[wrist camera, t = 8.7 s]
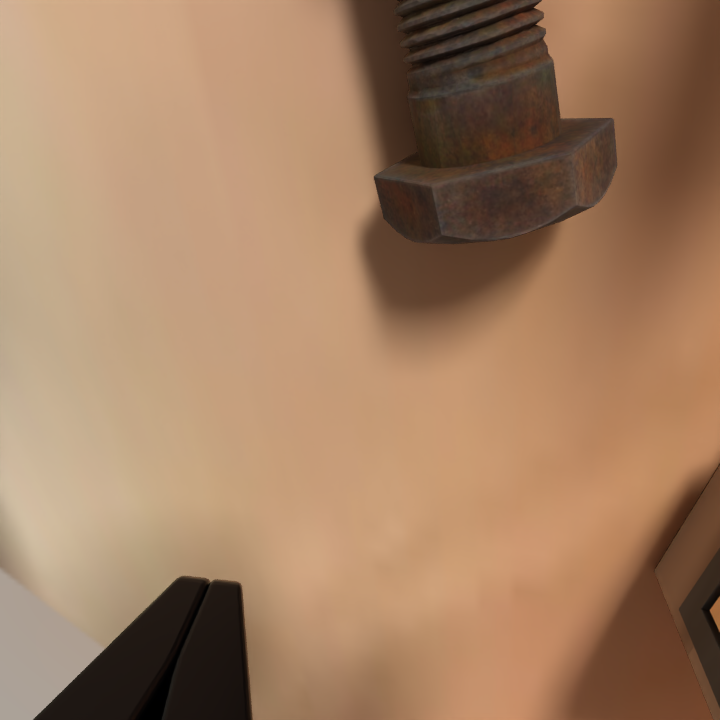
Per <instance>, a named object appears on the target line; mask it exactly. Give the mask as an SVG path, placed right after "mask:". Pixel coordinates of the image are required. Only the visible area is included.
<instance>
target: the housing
mask: <svg viewBox="0 0 720 720" xmlns="http://www.w3.org/2000/svg"><path fill="white" fill-rule="evenodd" d="M654 572H655V575H656V577H657V580H658V582H659V585H660V587H661V590H662V592H663V595H664V597H665V600H666V602H667V605H668V607H669V610H670V612H671V615H672V617H673V620H674V622H675V625H676V627H677V630H678V632H679V635H680V637H681V640H682V642H683V645H684V647H685V650H686V652H687V655H688V657H689V660H690V662H691V665H692V667H693V670H694V672H695V675H696V677H697V680H698V682H699V685H700V687H701V690H702V692H703V695H704V697H705V700H706V702H707V705H708V707H709V710H710V712H711V715H712V717H713V720H720V632H719V629H718V627H717V625H716V623H715V621H714V619H713V616H712V614H711V612H710V609H711V608H712V606H713V605H714V604H715V602H716V601H717V599H718V598H719V597H720V465H719V467H718V469H717V470H716V472H715V473H714V475H713V477H712V478H711V480H710V481H709V483H708V485H707V486H706V488H705V490H704V491H703V493H702V494H701V496H700V498H699V499H698V501H697V502H696V504H695V506H694V507H693V509H692V510H691V512H690V514H689V515H688V517H687V519H686V520H685V522H684V523H683V525H682V527H681V528H680V530H679V531H678V533H677V535H676V536H675V538H674V540H673V541H672V543H671V544H670V546H669V548H668V549H667V551H666V552H665V554H664V556H663V557H662V559H661V560H660V562H659V564H658V565H657V567H656V569H655V570H654Z"/></svg>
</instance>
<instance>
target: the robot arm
mask: <svg viewBox="0 0 720 720" xmlns="http://www.w3.org/2000/svg"><path fill="white" fill-rule="evenodd" d="M34 720H253V718H252V705H251V693H250V680H249V667H248V655H247V642H246V630H245V617H244V605H243V592H242V585H241V583H239V582H236V581H227V580H218V579H216V580H213V581H212V582H210V580H209V579H206V578H201V577H192V576H181V577H179V578H177V579H176V580H175V581H174V582H173V583H172V584H171V585H170V586H169V587H168V588H167V589H166V590H165V591H164V592H163V593H162V594H161V595H160V596H159V597H158V598H157V599H156V600H155V601H154V602H153V603H151V604H150V605H149V606H148V607H147V608H146V609H145V610H144V611H143V612H142V613H141V614H140V615H139V616H138V617H137V618H136V619H135V620H134V621H133V622H132V623H131V624H130V625H129V626H128V627H127V628H126V629H125V630H124V631H123V632H122V633H121V634H120V635H119V636H118V637H117V638H116V639H115V640H114V641H113V642H112V643H111V644H110V645H109V646H108V647H107V648H106V649H105V650H104V651H103V652H102V653H101V654H100V655H99V656H97V657H96V659H94V661H92V662H91V663H90V664H89V665H88V666H87V667H86V668H85V670H83V671H82V672H81V673H80V674H79V675H78V676H77V677H76V678H75V679H74V680H73V681H72V682H71V683H70V684H69V685H68V686H67V687H66V688H65V689H64V690H63V691H62V692H61V693H60V694H59V695H58V696H57V697H56V698H55V699H54V700H53V701H52V702H51V703H50V704H49V705H48V706H47V707H46V708H45V709H44V710H43V711H42V712H41V713H39V714H38V715H37V716H36V717H35V718H34Z"/></svg>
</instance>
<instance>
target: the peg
mask: <svg viewBox="0 0 720 720" xmlns="http://www.w3.org/2000/svg"><path fill="white" fill-rule="evenodd" d="M710 612H711V614H712V616H713V619H714V621H715V623H716V625H717V627H718V629H719V632H720V597H719V598H718V599H717V601H716V602H715V604H714V605H713V606H712V608H711V609H710Z"/></svg>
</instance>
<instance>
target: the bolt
mask: <svg viewBox="0 0 720 720" xmlns="http://www.w3.org/2000/svg"><path fill="white" fill-rule="evenodd" d="M398 1H401V2H400V3H399V4H398V6H397V7H396V8H395V10H394V15H396V16H401V17H403V19H402V20H401V22H400V23H399V25H398V26H397V30H398V31H399V32H404V33H407V35H406V36H405V37H404V38H403V40H402V41H401V42H400V47H403V48H409V49H410V51H409V52H408V53H407V54H406V56H405V57H404V58H403V60H404V63H409V64H412V67H411V68H410V70H409V71H408V72H407V73H406V75H407V80H408V84H409V92H408V96H407V99H408V104H409V108H410V113H411V118H412V123H413V128H414V133H415V138H416V143H417V148H418V152H416V153H414V154H412V155H411V156H409V157H407V158H405V159H403V160H402V161H400V162H398V163H396V164H394V165H393V166H391V167H389V168H387V169H385V170H384V171H382V172H380V173H378V174H376V175H375V176H374V180H375V184H376V188H377V192H378V196H379V200H380V204H381V208H382V212H383V216H384V219H385V220H386V221H387V222H388V223H389V224H390V225H391V226H392V227H393V228H394V229H395V230H396V231H397V232H399V233H400V234H401V235H403V236H404V237H405V238H407V239H409V240H411V241H414V242H418V243H438V244H459V243H472V242H485V241H495V240H501V239H508V238H512V237H515V236H519V235H522V234H525V233H528V232H531V231H534V230H537V229H540V228H543V227H546V226H549V225H552V224H555V223H558V222H561V221H563V220H565V219H567V218H570V217H572V216H574V215H576V214H578V213H580V212H583V211H585V210H587V209H589V208H591V207H593V206H595V205H596V204H597V203H598V202H599V201H600V200H601V199H602V198H603V196H604V195H605V193H606V191H607V190H608V188H609V186H610V184H611V181H612V179H613V176H614V173H615V170H616V167H617V156H616V143H615V129H614V119H612V118H581V119H560V111H559V103H558V95H557V87H556V78H555V70H554V62H553V59H552V58H551V57H550V55H549V54H548V48H547V45H546V43H545V42H544V40H543V38H544V36H545V34H546V29H545V28H543V27H540V26H538V25H535V24H537V23H538V22H539V21H540V20H542V19H543V18H544V12H542V11H540V10H537V9H535V8H533V7H535V6H536V5H537V4H538V3H539V2H541V1H542V0H398Z"/></svg>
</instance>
